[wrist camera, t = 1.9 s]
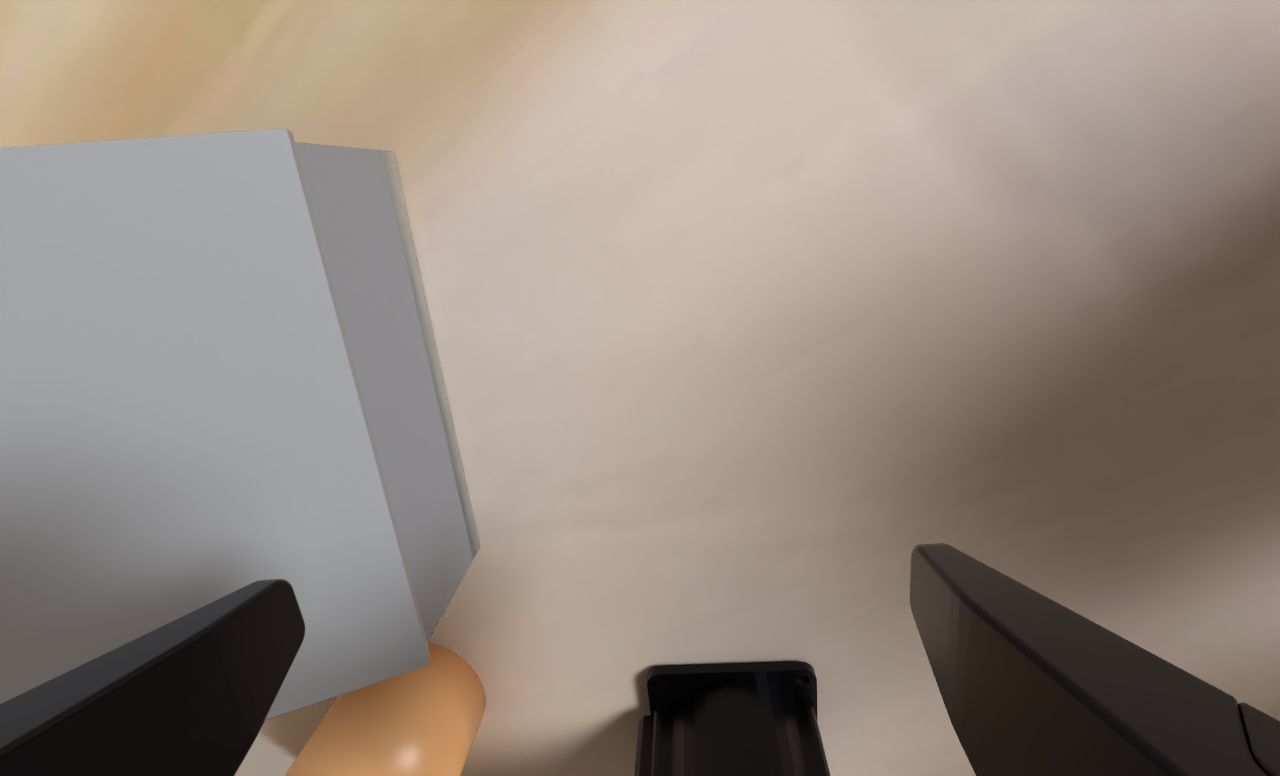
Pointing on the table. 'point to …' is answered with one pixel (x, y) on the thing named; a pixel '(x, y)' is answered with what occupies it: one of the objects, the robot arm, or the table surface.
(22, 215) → the lid
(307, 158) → the carton
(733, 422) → the table surface
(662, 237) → the table surface
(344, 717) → the orange round cylinder
